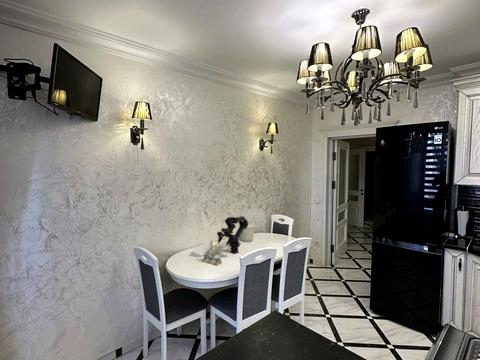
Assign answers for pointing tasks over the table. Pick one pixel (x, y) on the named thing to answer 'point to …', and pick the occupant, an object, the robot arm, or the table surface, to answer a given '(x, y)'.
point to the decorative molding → (201, 249)
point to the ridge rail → (212, 260)
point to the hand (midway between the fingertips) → (222, 244)
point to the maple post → (212, 248)
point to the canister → (248, 233)
